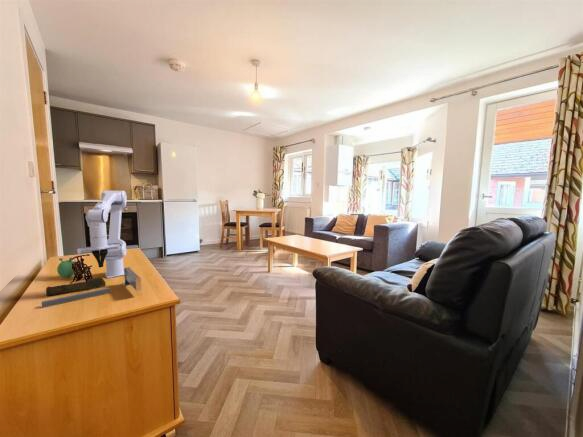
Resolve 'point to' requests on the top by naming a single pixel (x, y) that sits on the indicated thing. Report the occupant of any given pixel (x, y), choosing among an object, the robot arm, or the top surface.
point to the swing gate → (132, 279)
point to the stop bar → (75, 297)
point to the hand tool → (76, 286)
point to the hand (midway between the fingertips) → (100, 266)
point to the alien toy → (65, 268)
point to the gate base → (125, 284)
